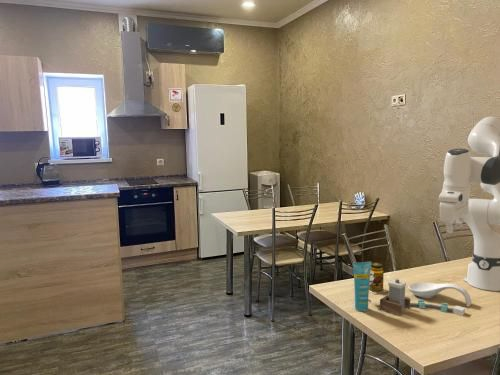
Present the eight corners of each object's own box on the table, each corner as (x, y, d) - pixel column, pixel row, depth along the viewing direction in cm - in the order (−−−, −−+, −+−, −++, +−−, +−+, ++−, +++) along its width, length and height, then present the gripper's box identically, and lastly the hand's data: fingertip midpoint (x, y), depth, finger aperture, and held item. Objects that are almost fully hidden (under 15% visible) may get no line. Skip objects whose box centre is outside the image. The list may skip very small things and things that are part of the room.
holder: (390, 302, 154) (390, 293, 154) (410, 308, 148) (410, 298, 148) (379, 309, 148) (380, 299, 148) (400, 315, 142) (400, 305, 142)
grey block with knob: (393, 305, 151) (394, 276, 150) (405, 309, 148) (406, 279, 146) (387, 309, 148) (388, 280, 147) (399, 313, 145) (400, 283, 143)
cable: (402, 302, 154) (402, 297, 154) (464, 311, 144) (465, 306, 144) (401, 306, 151) (401, 301, 150) (465, 316, 141) (465, 311, 141)
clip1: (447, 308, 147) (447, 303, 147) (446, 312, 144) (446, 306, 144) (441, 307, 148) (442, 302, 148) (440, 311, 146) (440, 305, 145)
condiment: (375, 294, 163) (375, 267, 162) (362, 287, 171) (362, 262, 169) (388, 291, 166) (388, 265, 164) (374, 284, 174) (375, 259, 172)
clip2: (423, 304, 151) (423, 299, 151) (425, 308, 148) (425, 303, 148) (417, 304, 152) (417, 299, 152) (419, 308, 148) (419, 303, 148)
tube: (355, 312, 146) (356, 264, 144) (349, 307, 151) (350, 260, 148) (373, 310, 148) (373, 262, 145) (366, 305, 152) (367, 259, 150)
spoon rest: (404, 296, 160) (404, 280, 160) (412, 288, 169) (413, 272, 169) (467, 311, 146) (468, 293, 145) (473, 300, 155) (473, 284, 154)
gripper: (456, 189, 147) (454, 223, 150) (436, 196, 133) (435, 234, 135) (474, 190, 143) (472, 225, 145) (456, 198, 129) (454, 237, 131)
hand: (454, 230), depth 140 cm, fingers open, 8 cm apart
